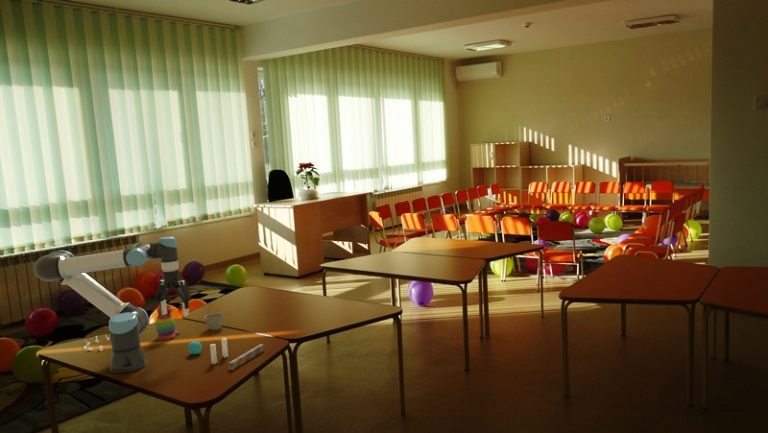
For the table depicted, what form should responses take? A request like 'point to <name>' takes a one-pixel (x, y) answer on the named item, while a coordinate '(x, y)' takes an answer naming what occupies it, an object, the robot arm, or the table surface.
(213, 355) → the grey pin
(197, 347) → the ball
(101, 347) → the game piece set
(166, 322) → the stacking bear
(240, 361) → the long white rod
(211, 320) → the grey round cup
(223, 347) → the ivory pin
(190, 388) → the table surface
